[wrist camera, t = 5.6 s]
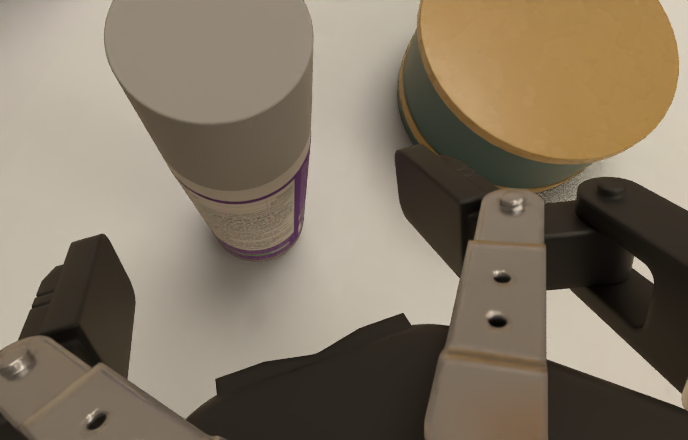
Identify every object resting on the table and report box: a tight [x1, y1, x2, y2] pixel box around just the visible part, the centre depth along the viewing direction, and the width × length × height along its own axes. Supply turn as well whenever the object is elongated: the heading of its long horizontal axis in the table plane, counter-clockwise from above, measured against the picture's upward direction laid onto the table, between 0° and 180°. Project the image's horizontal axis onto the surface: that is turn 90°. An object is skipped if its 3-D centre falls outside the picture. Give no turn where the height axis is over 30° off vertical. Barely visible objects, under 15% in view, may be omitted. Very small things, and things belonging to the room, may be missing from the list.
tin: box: [398, 0, 679, 194], centre depth 25 cm, size 13×13×6 cm
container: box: [104, 0, 313, 261], centre depth 17 cm, size 5×5×15 cm
